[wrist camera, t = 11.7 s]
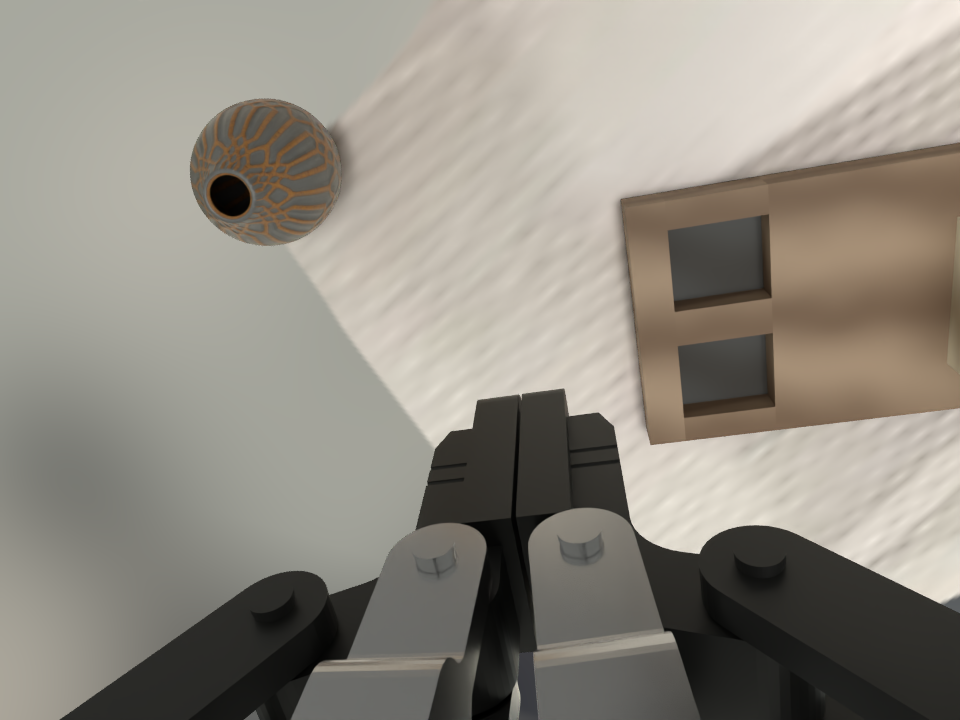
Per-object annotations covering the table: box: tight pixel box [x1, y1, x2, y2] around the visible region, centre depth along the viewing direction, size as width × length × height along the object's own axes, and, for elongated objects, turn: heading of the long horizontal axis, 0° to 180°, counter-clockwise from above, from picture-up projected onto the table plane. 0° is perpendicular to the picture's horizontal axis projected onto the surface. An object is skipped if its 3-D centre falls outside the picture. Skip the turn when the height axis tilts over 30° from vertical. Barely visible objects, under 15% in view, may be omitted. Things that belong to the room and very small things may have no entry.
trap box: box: [621, 143, 960, 445], centre depth 40 cm, size 14×30×2 cm, turn 101°
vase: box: [190, 99, 342, 246], centre depth 36 cm, size 7×7×9 cm
